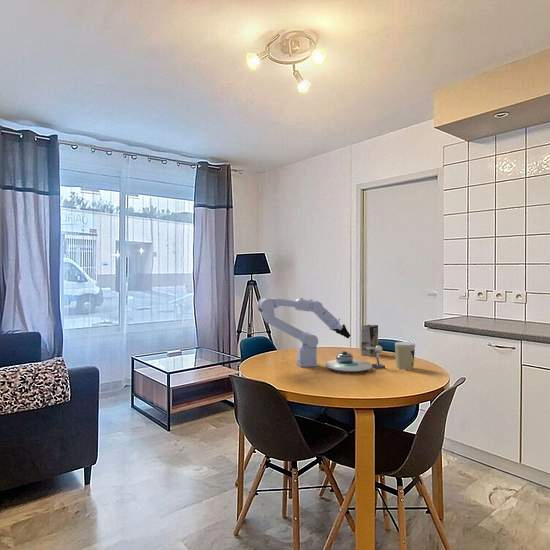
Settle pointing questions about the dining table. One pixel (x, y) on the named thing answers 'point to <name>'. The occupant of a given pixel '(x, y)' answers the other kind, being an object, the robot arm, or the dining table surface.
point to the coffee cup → (404, 355)
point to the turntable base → (349, 371)
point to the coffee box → (369, 339)
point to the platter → (349, 365)
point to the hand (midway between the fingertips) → (346, 335)
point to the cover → (344, 357)
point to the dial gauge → (378, 350)
